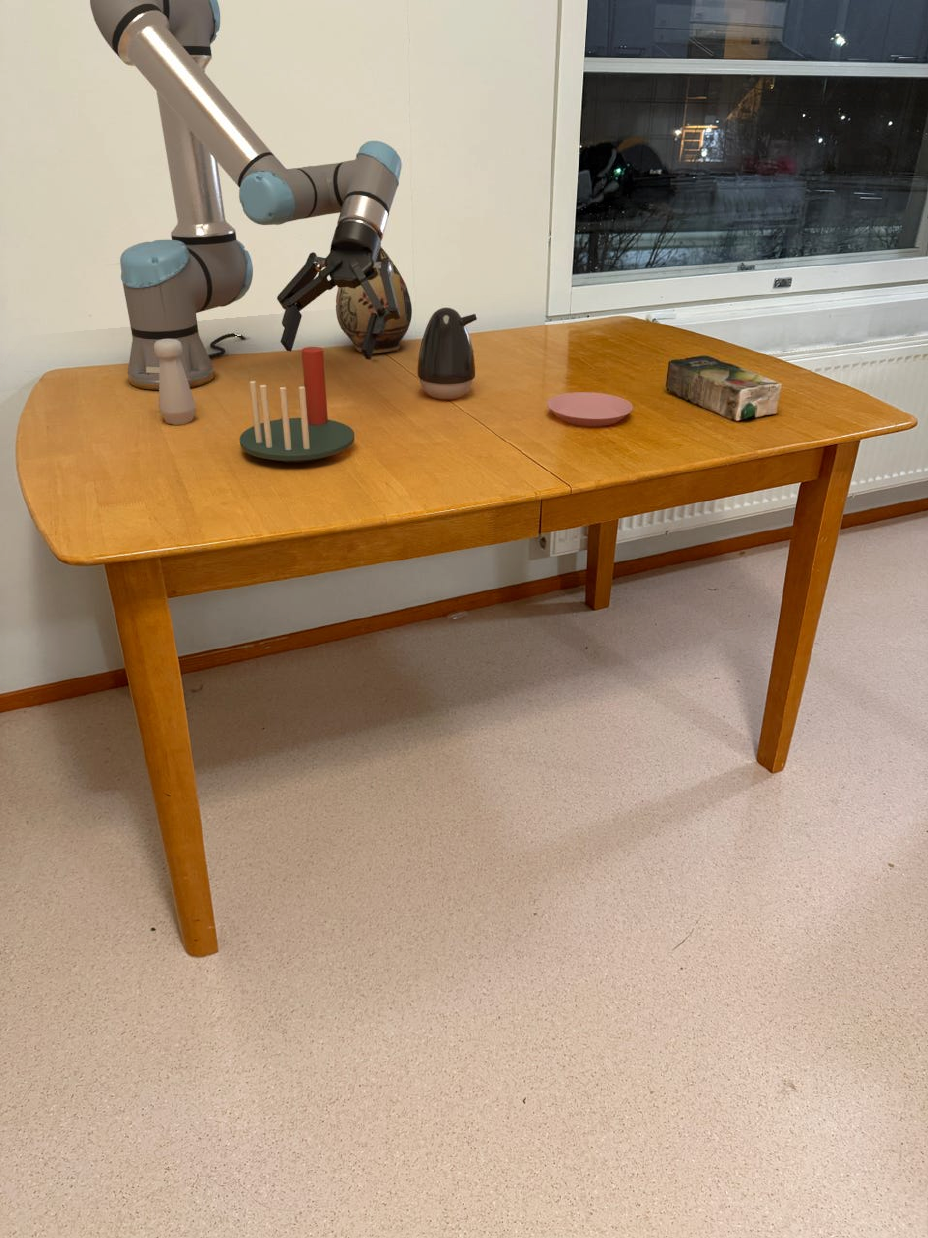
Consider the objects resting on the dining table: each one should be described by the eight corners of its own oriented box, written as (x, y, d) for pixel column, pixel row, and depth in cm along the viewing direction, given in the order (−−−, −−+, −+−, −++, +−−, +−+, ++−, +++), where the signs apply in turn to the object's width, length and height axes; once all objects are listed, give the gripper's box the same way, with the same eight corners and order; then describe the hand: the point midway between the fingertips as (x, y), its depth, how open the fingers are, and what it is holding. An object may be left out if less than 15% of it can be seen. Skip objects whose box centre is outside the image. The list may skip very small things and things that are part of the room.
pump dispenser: (469, 406, 159) (471, 315, 151) (411, 401, 160) (409, 312, 153) (480, 389, 167) (482, 303, 160) (425, 385, 169) (424, 299, 161)
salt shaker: (204, 417, 152) (193, 337, 145) (184, 428, 147) (172, 346, 141) (174, 413, 154) (162, 334, 147) (153, 423, 149) (140, 342, 142)
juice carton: (783, 415, 156) (790, 379, 153) (740, 424, 152) (745, 387, 149) (703, 385, 171) (708, 352, 168) (662, 393, 167) (665, 359, 164)
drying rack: (324, 471, 129) (318, 382, 123) (218, 457, 134) (207, 369, 127) (372, 433, 143) (368, 351, 137) (275, 421, 148) (267, 341, 141)
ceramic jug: (348, 338, 199) (340, 186, 184) (418, 341, 197) (416, 188, 182) (327, 358, 184) (316, 195, 169) (403, 362, 183) (399, 197, 167)
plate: (582, 398, 163) (583, 386, 162) (648, 416, 155) (649, 405, 154) (528, 415, 155) (529, 403, 154) (595, 436, 146) (596, 423, 145)
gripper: (437, 254, 148) (406, 370, 143) (297, 244, 154) (263, 355, 150) (426, 222, 141) (393, 344, 136) (280, 213, 147) (243, 329, 143)
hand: (325, 350), depth 143 cm, fingers open, 13 cm apart
